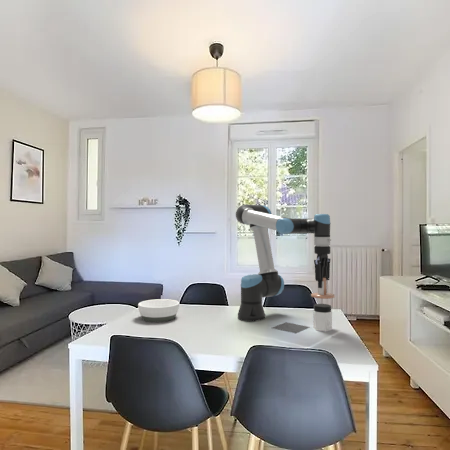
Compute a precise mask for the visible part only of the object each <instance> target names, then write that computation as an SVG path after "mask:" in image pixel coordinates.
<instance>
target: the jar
mask: <svg viewBox="0 0 450 450" xmlns="http://www.w3.org/2000/svg"><path fill="white" fill-rule="evenodd" d="M312 315H313V316H312V317H313V320H312V323H313V324H312V325H313V326H312V327H313V329H314V330H315V331H319V332H331V331H332V330H333V312H332V306H331V305H330V304H327V303H315V304H314V305H313V310H312Z"/></svg>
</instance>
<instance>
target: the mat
mask: <svg viewBox="0 0 450 450" xmlns="http://www.w3.org/2000/svg"><path fill="white" fill-rule="evenodd" d="M309 328H311V326H307V325H302V324H297V323H292V322H287V321H285V322H282V323H281V324H280V323H279V324H278V325H275V326H272V327H271V329H272V330H273V329H274V330H279V331H284V332H287V333H292V334H297V333H300V332H302V331H303V332H304V330H307V329H309Z"/></svg>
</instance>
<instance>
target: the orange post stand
mask: <svg viewBox="0 0 450 450" xmlns="http://www.w3.org/2000/svg"><path fill="white" fill-rule="evenodd" d="M323 281H324V295H319V294H318V292H312V293H311V294H310V295H311V297H312V298H316V299H325V300H327V299H334V298H335V295H336V294H334V293H330V292H327V294H326V278H323Z"/></svg>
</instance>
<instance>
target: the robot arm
mask: <svg viewBox="0 0 450 450" xmlns="http://www.w3.org/2000/svg"><path fill="white" fill-rule="evenodd" d="M235 219H236V220H237V222H239V223H240V224H242V225H249V228H250V230H252V233H253V237H254V238H253V239H254V244H255V250H256V255H257V260H258V261H257V262H258V266H259V267H258V269H259V272H258V273H257V274H247V275H244V276H243V277H241V279H240V306H239V309H238V313H237V319H238V320H240V321H243V322H256V321H262V320H265V319H266V313H265V310H264V306H263V298H268V297H276V296H279V295H280V294H282V293H283V291H284V288H285V281H284V278H283V277H282V275H280V274H279V272H278V270H277V269H276V268H275V265H274V264H275V263H274V258H273V253H272V247H271V246H272V245H271V240H270V236H269V235H270V234H269V230H268V229H270V230H273V231H277V232H278V233H279V234H283V235H289V234H290V235H291V234H294V235H295V234H300V235H301V234H302V235H304V234H305V235H306V234H314V235H313V236H314V237H313V238H314V240H313V241H314V251H313V252H314V254H316V259H314V260H313V263H314V276H315V277H314V278H315V279H314V281H316V282H317V293H318V294H319V295H324V281H323V278H326V294H327V293H328V281H330V274H331V273H330V272H331V269H330V268H331V258H330V257H329V256H328V255H330V254H331V241H332V239H331V216H330V215H329V214H328V213H316V214H314V217H313V218H290V217H286V216H281V215H276V214H272V211H271V209H270V208H269V207H268V206H266V205H262V204H242V205H240V206H239V207H238V208H237V209H236V211H235Z"/></svg>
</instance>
